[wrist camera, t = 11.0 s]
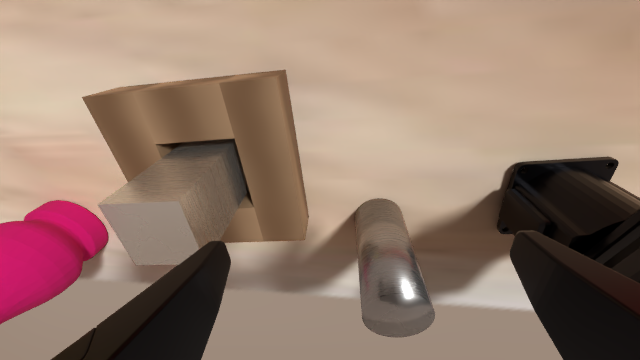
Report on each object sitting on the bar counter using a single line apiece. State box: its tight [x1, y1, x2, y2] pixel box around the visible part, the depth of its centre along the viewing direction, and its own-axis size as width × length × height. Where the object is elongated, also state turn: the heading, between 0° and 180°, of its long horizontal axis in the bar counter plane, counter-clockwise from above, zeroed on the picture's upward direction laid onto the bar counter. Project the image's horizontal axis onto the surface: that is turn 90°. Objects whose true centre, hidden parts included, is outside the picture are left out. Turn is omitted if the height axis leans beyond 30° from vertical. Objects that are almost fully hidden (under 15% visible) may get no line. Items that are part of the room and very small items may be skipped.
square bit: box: [98, 138, 249, 265], centre depth 17 cm, size 4×4×9 cm
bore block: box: [82, 70, 309, 243], centre depth 19 cm, size 12×12×3 cm
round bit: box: [355, 199, 435, 337], centre depth 19 cm, size 4×4×9 cm
